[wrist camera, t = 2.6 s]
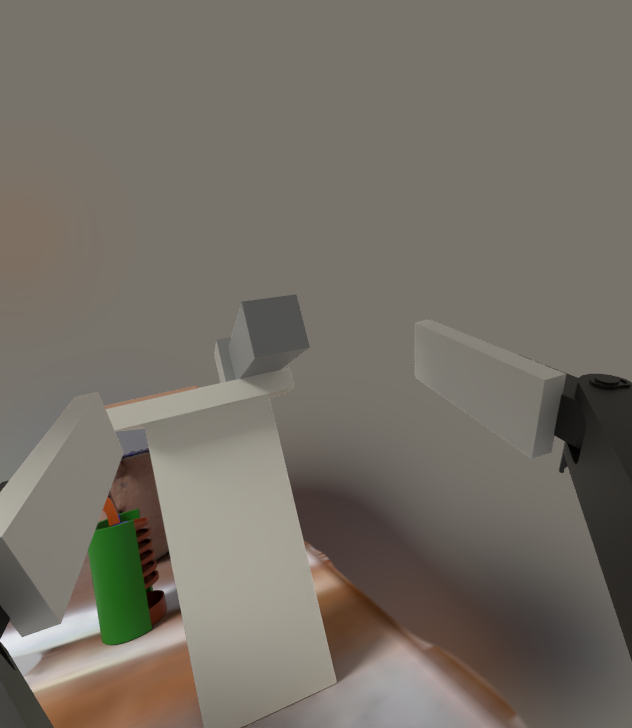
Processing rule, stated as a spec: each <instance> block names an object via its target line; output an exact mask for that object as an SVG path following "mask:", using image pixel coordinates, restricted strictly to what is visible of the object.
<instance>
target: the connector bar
mask: <svg viewBox="0 0 632 728" xmlns="http://www.w3.org/2000/svg"><path fill="white" fill-rule="evenodd" d="M308 348H309V343H308V339H307V335H306V331H305V327H304V323H303V320H302V315H301V311H300V307H299V303H298V300H297V296H296V295H289V296H282V297H274V298H267V299H260V300H252V301H245V302H241V305H240V309H239V312H238V316H237V319H236V322H235V325H234V329H233V332H232V335H231V338H225V339H219V340H216V346H215V353H214V356H215V361H216V365H217V370H218V374H219V378H220V383H223V382H228V381H232V380H237V379H241V378H245V377H250V376H254V375H259V374H263V373H267V372H272V371H276V370H281V369H282V368H283V367H284V366H286V365H287V364H288V363H290V362H291V361H292V360H294V359H295V358H296V357H298V356H299V355H300V354H301V353H303V352H304V351H305V350H307V349H308Z"/></svg>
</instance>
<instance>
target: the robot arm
mask: <svg viewBox="0 0 632 728" xmlns="http://www.w3.org/2000/svg"><path fill="white" fill-rule="evenodd" d="M415 378H417V379H418V380H420V381H421V382H423V383H424V384H425V385H427V386H428V387H430V388H431V389H432V390H434V391H435V392H437V393H439V394H440V395H441V396H442V397H444V398H445V399H447V400H448V401H450V402H451V403H452V404H454V405H455V406H457V407H458V408H460V409H461V410H462V411H464V412H465V413H467V414H468V415H470V416H471V417H472V418H474V419H475V420H477V421H478V422H480V423H481V424H482V425H484V426H485V427H487V428H488V429H489V430H491V431H492V432H494V433H495V434H497V435H498V436H499V437H501V438H502V439H504V440H505V441H507V442H508V443H509V444H511V445H512V446H514V447H515V448H517V449H518V450H519V451H521V452H522V453H524V454H525V455H527V456H528V457H529V458H531V459H533V458H536V457H539V456H542V455H545V454H548V453H551V451H552V446H553V441H554V436H557V437H558V438H560V439H562V440H564V441H565V444H564V449H563V454H562V458H561V463H560V468H559V472H561V473H563V472H564V468H566V467H567V466H568V468H569V471H570V474H571V478H572V481H573V484H574V487H575V489H576V493H577V496H578V499H579V502H580V505H581V508H582V511H583V514H584V517H585V520H586V523H587V526H588V529H589V532H590V535H591V538H592V541H593V544H594V547H595V550H596V553H597V556H598V560H599V563H600V566H601V569H602V572H603V574H604V578H605V581H606V584H607V586H608V590H609V593H610V596H611V599H612V602H613V605H614V608H615V611H616V614H617V617H618V620H619V623H620V626H621V629H622V632H623V636H624V639H625V642H626V645H627V647H628V650H629V654H630V657H631V660H632V383H631V382H630V381H628V380H626V379H623V378H620V377H615V376H612V375H605V374H588V375H582V376H581V377H579V378H577V377H574V376H572V375H569V374H567V373H564V372H561V371H559V370H557V369H554V368H551V367H549V366H546V365H543V364H541V363H539V362H536V361H533V360H531V359H529V358H526V357H524V356H521V355H518V354H515V353H512V352H510V351H508V350H505V349H503V348H500V347H497V346H495V345H493V344H490V343H488V342H485V341H483V340H480V339H477V338H475V337H472V336H470V335H467V334H465V333H462V332H460V331H457V330H455V329H452V328H450V327H447V326H445V325H442V324H440V323H437V322H435V321H432V320H430V319H429V320H424V321H420V322H415ZM123 453H124V452H123V449H122V447H121V445H120V442H119V440H118V438H117V436H116V433H115V431H114V428H113V426H112V423H111V421H110V419H109V416H108V414H107V412H106V409H105V407H104V405H103V402H102V400H101V398H100V395H99V393H98V392H95V393H90V394H85V395H81V396H76V397H74V399H73V400H72V401H71V403H70V404H69V405H68V406H67V408H66V409H65V410H64V411H63V413H62V414H61V415H60V417H59V418H58V419H57V420H56V422H55V423H54V424H53V425H52V427H51V428H50V429H49V431H48V432H47V433H46V434H45V436H44V437H43V438H42V439H41V441H40V442H39V443H38V445H37V446H36V447H35V448H34V450H33V451H32V453H31V454H30V455H29V456H28V457H27V459H26V460H25V461H24V462H23V464H22V465H21V466H20V468H19V469H18V470H17V471H16V473H15V474H14V475H13V477H12V478H11V479H10V480H9V481H5V482H2V483H1V484H0V638H1V636H2V634H3V632H4V630H5V628H6V626H7V624H8V622H9V621H10V622H11V623H12V625H13V626H14V627H15V629H16V630H17V631H18V632H19V634H20V635H21V636H22V637H24V636H27V635H29V634H32V633H35V632H38V631H41V630H44V629H47V628H50V627H52V626H55V625H58V624H61V622H62V619H63V616H64V614H65V611H66V608H67V605H68V603H69V600H70V597H71V595H72V592H73V589H74V586H75V584H76V581H77V578H78V576H79V573H80V570H81V567H82V565H83V562H84V559H85V557H86V554H87V551H88V548H89V546H90V543H91V540H92V537H93V535H94V532H95V529H96V527H97V524H98V521H99V518H100V516H101V513H102V510H103V508H104V505H105V502H106V499H107V497H108V494H109V491H110V488H111V486H112V483H113V480H114V478H115V475H116V472H117V469H118V467H119V464H120V461H121V459H122V456H123ZM0 728H54V727H53V725H52V724H51V722H50V720H49V719H48V717H47V715H46V714H45V712H44V711H43V709H42V707H41V706H40V704H39V702H38V701H37V699H36V697H35V696H34V694H33V692H32V691H31V689H30V687H29V686H28V684H27V682H26V681H25V679H24V677H23V676H22V674H21V672H20V671H19V669H18V668H17V666H16V664H15V663H14V661H13V659H12V658H11V656H10V654H9V653H8V651H7V649H6V648H5V647H4V646H3V645H2V643H1V642H0Z"/></svg>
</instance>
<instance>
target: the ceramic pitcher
mask: <svg viewBox="0 0 632 728" xmlns="http://www.w3.org/2000/svg"><path fill="white" fill-rule="evenodd" d="M108 497H109V498H110V499H111V500H112V502H113V504H114V506H115V509H116V511H117V514H121V513H124V512H127V511H131V510H134V509H138V508H139V512H140V518H143V517H148V518H149V524H148V525H146V526H145V527H143V528H151V535H150V536H148V537H147V538H152V540H153V545H152V547H150V548H149V549H154V551H155V556H154V558H153V559H154V560H157V559H158V558H160V557H162V556H163V555H165V554H166V553H167V552H168V551H169V548H168V543H167V538H166V533H165V528H164V522H163V517H162V512H161V507H160V502H159V497H158V492H157V487H156V482H155V477H154V472H153V467H152V462H151V457H150V451H149V448H147V449H144V450H140V451H137V452H134V451H133V452H131V453H129V454H124V455H123V456H122V459H121V461H120V464H119V467H118V469H117V472H116V475H115V478H114V480H113V483H112V486H111V488H110V491H109V494H108ZM105 519H107V515H106V513H105V512H104V511H102V513H101V516H100V518H99V522H100V521H102V520H105Z"/></svg>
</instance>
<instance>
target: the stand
mask: <svg viewBox="0 0 632 728" xmlns="http://www.w3.org/2000/svg"><path fill="white" fill-rule="evenodd" d="M294 387H295V385H294V381H293V377H292V373H291V369H290V368H286V369H281V370H276V371H272V372H267V373H263V374H259V375H254V376H250V377H245V378H241V379H237V380H232V381H228V382H223V383H219V384H215V385H210V386H206V387H201V388H199V387H198V386H191V387H187V388H182V389H178V390H173V391H169V392H164V393H160V394H156V395H151V396H146V397H142V398H138V399H133V400H129V401H124V402H120V403H115V404H111V405H107V406H104V407H105V409H106V412H107V414H108V416H109V419H110V421H111V423H112V426H113V428H114V431H123V430H132V429H142V428H145V431H146V436H147V441H148V446H149V451H150V457H151V462H152V467H153V472H154V477H155V482H156V487H157V492H158V497H159V502H160V507H161V512H162V517H163V522H164V528H165V533H166V538H167V543H168V548H169V553H170V558H171V563H172V568H173V573H174V578H175V583H176V588H177V593H178V599H179V604H180V609H181V614H182V619H183V624H184V629H185V634H186V639H187V644H188V649H189V654H190V659H191V664H192V669H193V675H194V680H195V685H196V690H197V695H198V700H199V705H200V710H201V715H202V720H203V725H204V728H241V727H244V726H246V725H248V724H250V723H252V722H254V721H257V720H259V719H261V718H263V717H265V716H267V715H269V714H272V713H274V712H276V711H278V710H280V709H282V708H284V707H287V706H289V705H291V704H293V703H295V702H297V701H299V700H302V699H304V698H306V697H308V696H310V695H312V694H314V693H317V692H319V691H321V690H323V689H325V688H327V687H329V686H332V685H334V684H336V683H337V680H336V676H335V672H334V668H333V664H332V659H331V655H330V651H329V647H328V642H327V638H326V634H325V630H324V626H323V621H322V617H321V613H320V609H319V604H318V600H317V596H316V592H315V588H314V583H313V579H312V575H311V571H310V567H309V562H308V558H307V554H306V550H305V545H304V541H303V537H302V533H301V529H300V525H299V520H298V516H297V512H296V508H295V503H294V499H293V495H292V491H291V487H290V482H289V478H288V474H287V470H286V466H285V461H284V457H283V453H282V448H281V444H280V440H279V436H278V432H277V427H276V423H275V419H274V415H273V410H272V406H271V402H270V398H271V397H275V396H279V395H282V394H284V393H286V392H287V391H289V390H291V389H292V388H294Z"/></svg>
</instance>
